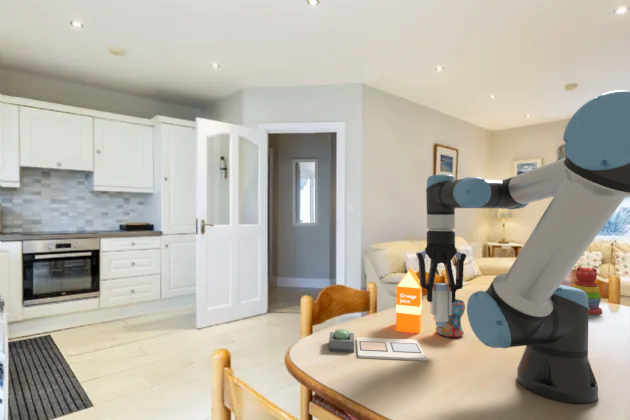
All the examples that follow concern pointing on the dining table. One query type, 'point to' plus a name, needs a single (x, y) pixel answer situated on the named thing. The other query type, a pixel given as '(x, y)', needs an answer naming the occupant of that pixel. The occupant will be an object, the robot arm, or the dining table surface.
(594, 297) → the stacking bear
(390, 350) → the sheet
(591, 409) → the dining table surface
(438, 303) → the cylinder
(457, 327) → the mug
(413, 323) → the orange juice
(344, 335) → the button
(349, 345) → the button housing
